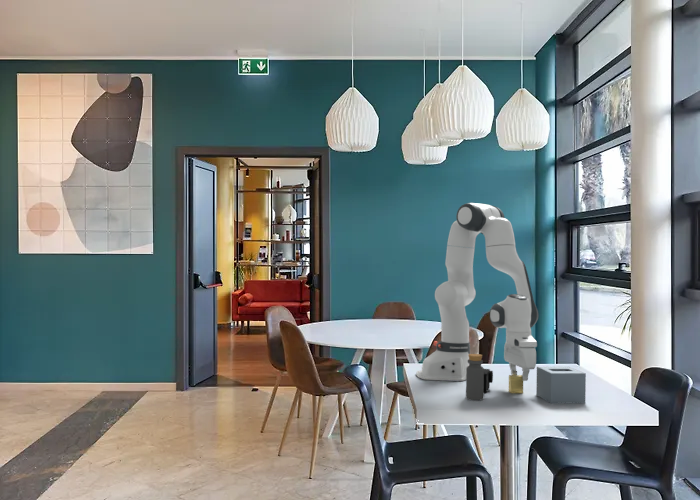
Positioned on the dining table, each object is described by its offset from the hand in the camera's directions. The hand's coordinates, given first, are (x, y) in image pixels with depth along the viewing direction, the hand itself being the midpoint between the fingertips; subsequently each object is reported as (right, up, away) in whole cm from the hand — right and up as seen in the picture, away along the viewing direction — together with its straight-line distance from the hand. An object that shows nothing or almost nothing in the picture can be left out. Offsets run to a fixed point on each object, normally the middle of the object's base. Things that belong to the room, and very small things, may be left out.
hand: (519, 377), depth 211 cm
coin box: (+12, -5, -9) cm, 15 cm away
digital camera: (-12, -5, +4) cm, 14 cm away
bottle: (-18, -5, -10) cm, 22 cm away
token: (-1, -5, 0) cm, 5 cm away
